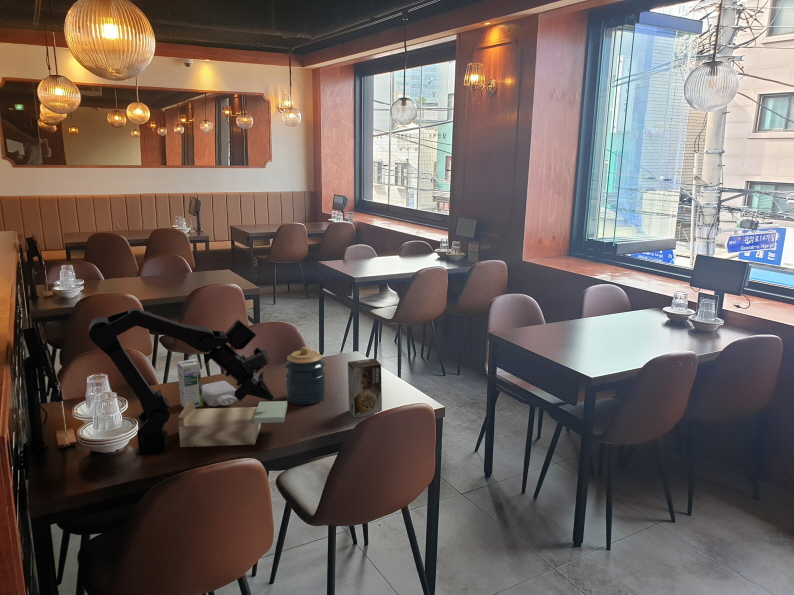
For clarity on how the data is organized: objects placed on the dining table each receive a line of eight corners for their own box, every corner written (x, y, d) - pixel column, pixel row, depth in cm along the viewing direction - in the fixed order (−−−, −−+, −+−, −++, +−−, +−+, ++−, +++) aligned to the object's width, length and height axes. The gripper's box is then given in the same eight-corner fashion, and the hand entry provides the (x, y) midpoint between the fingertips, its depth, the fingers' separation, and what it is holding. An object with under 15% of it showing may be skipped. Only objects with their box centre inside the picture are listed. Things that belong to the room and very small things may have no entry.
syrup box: (185, 410, 191) (181, 366, 188) (180, 404, 196) (176, 360, 193) (203, 406, 195) (200, 362, 191) (198, 400, 199) (195, 357, 196)
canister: (321, 389, 209) (320, 339, 206) (329, 403, 197) (328, 350, 194) (283, 393, 205) (281, 343, 202) (289, 408, 193) (287, 354, 190)
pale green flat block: (253, 417, 167) (283, 417, 168) (259, 401, 178) (287, 401, 179) (253, 422, 167) (283, 422, 168) (259, 406, 178) (287, 405, 179)
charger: (216, 414, 189) (199, 399, 201) (244, 407, 195) (226, 393, 206) (215, 399, 188) (198, 385, 200) (243, 393, 194) (226, 379, 205)
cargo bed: (180, 447, 167) (178, 417, 165) (190, 428, 178) (188, 401, 176) (254, 444, 168) (253, 415, 166) (260, 426, 180) (259, 398, 178)
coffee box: (375, 406, 195) (375, 357, 191) (382, 413, 189) (382, 363, 186) (348, 410, 192) (347, 361, 188) (354, 418, 186) (353, 367, 182)
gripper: (245, 352, 159) (289, 391, 162) (255, 333, 177) (295, 368, 180) (216, 381, 160) (260, 420, 163) (229, 359, 178) (268, 394, 181)
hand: (272, 399), depth 172 cm, fingers closed
